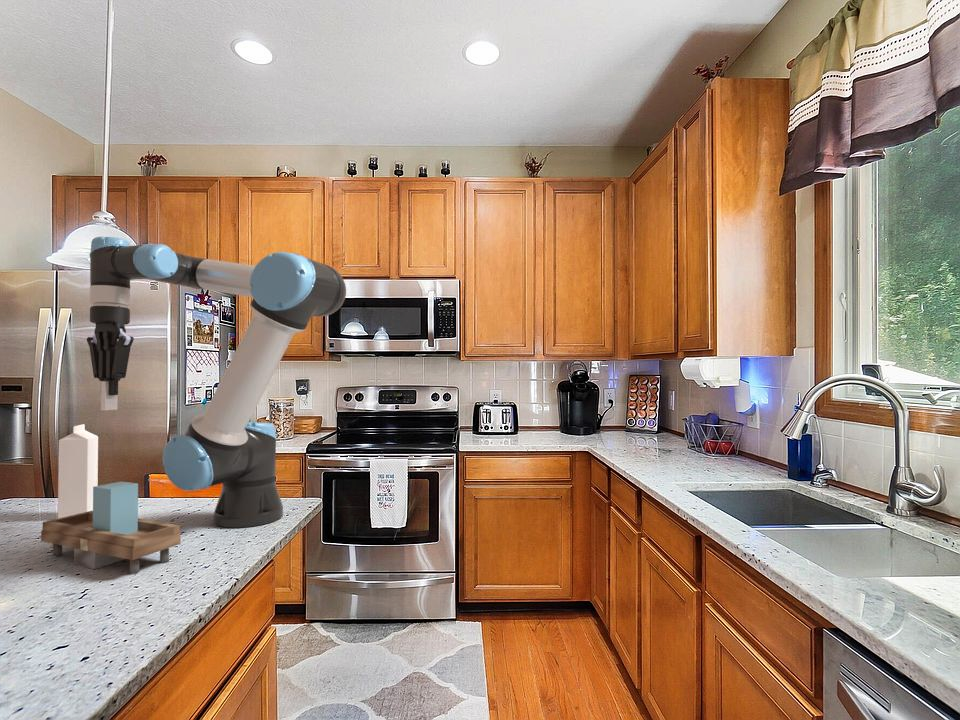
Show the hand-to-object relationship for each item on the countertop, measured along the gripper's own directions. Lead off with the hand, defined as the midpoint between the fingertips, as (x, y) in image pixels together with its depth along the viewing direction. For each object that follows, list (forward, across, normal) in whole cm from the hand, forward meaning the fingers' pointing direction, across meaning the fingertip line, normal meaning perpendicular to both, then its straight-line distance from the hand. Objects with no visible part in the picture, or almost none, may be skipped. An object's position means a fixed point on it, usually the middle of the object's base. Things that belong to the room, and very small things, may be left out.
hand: (109, 409), depth 120 cm
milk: (+27, +15, -3) cm, 31 cm away
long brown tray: (+26, -21, +13) cm, 36 cm away
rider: (+21, -23, +13) cm, 34 cm away
